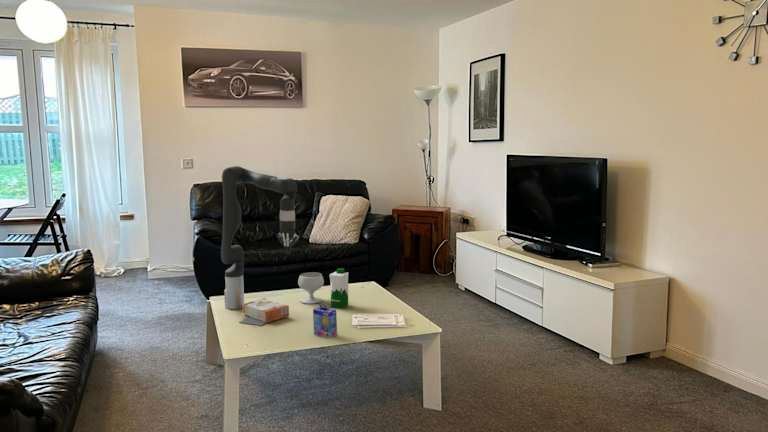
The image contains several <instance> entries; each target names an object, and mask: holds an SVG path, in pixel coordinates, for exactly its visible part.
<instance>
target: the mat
mask: <svg viewBox="0 0 768 432" xmlns="http://www.w3.org/2000/svg"><path fill="white" fill-rule="evenodd" d="M238 323H239V324H243V323H244V325H251V326H257V327H258V326H259V327H262V326H264V325H266V324H269V323H270V322H263V321H261V320H258V319H255V318H253V317H250V316H247V318H244V319H242V320H240V321H238Z"/></svg>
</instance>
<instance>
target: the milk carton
mask: <svg viewBox="0 0 768 432" xmlns="http://www.w3.org/2000/svg"><path fill="white" fill-rule="evenodd" d="M328 276H329V281H330V308H331V309H340V310H342V309H345V308H347V306H349V272H347V271H345V268H343V267H340V268H336V271H334V272H332V273H330V274H329V275H328Z"/></svg>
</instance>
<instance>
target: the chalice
mask: <svg viewBox="0 0 768 432" xmlns="http://www.w3.org/2000/svg"><path fill="white" fill-rule="evenodd" d="M297 284H298V286H299V288H301V289H302V290H304V291H306V292H307V293H308V294H309V297H303V298H301V299H300V303H301V304H302V303H303V304H309V305H314V304H319V303H321V302H323V299H322V298H321V297H318V296H314V294H315V292H316V291H318V290H319V289H321V288H322V287H323V286H324V284H325V280H324V276H323V275H322V273H320V272H314V271H312V272H303V273H301V274H300V275H299V277H298V280H297Z"/></svg>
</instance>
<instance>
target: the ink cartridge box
mask: <svg viewBox="0 0 768 432" xmlns="http://www.w3.org/2000/svg"><path fill="white" fill-rule="evenodd" d="M312 316H313V317H312V319H313V335H315V336H319V337H322V338H327V339H332V338H334V337H336V336H338V325H337V309H336V308H331V307H327V306H326V305H324V304H319V306H318V307H315V308H313V309H312Z"/></svg>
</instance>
